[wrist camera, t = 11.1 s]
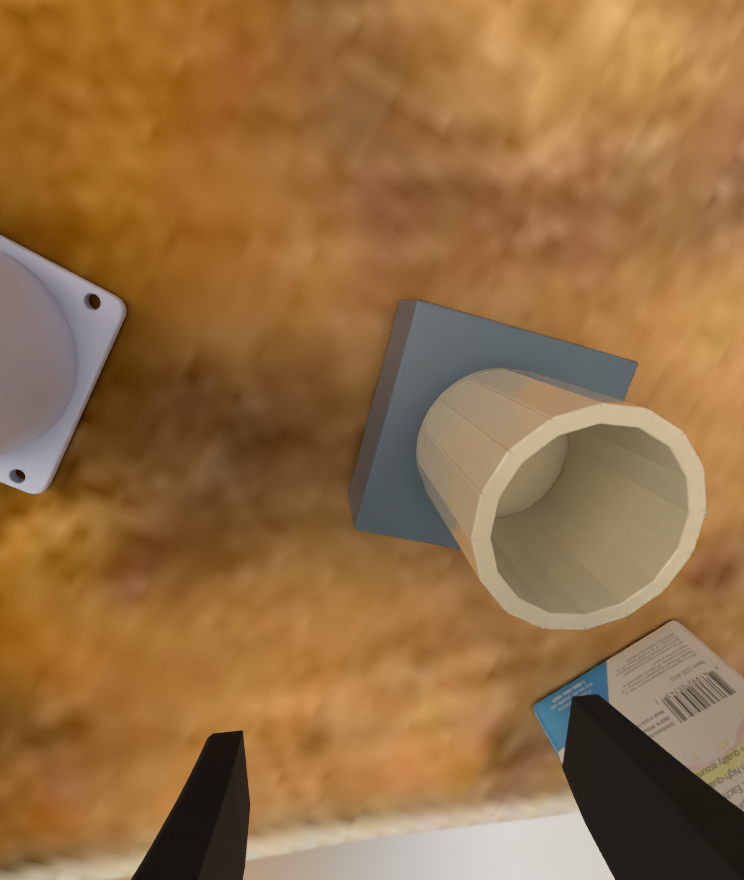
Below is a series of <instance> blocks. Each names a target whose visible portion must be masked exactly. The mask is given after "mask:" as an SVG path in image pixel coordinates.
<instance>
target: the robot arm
mask: <svg viewBox="0 0 744 880" xmlns="http://www.w3.org/2000/svg"><path fill="white" fill-rule="evenodd" d="M92 294H96V295H97V296H98V297H99V299H100V301H101V304H100V307H99V308H98V309H94V308H93V307H92V306H91V305H90V303H89V298H90V296H91V295H92ZM126 312H127V310H126V306H125V304H124V302H123V301H122V300H121V299H120V298H119V297H118V296H116V295H114V294H112V293H110V292H108V291H106V290H105V289H103V288H101V287H99V286H97V285H95V284H93V283H91V282H89V281H88V280H86V279H84V278H82V277H80V276H78V275H76V274H74V273H72V272H71V271H69V270H67V269H65V268H63V267H61V266H59V265H57V264H55V263H53V262H52V261H50V260H48V259H46V258H44V257H42V256H40V255H38V254H36V253H35V252H33V251H31V250H29V249H27V248H25V247H23V246H21V245H19V244H18V243H16V242H14V241H12V240H10V239H8V238H6V237H4V236H2V235H1V234H0V482H2V483H4V484H7V485H9V486H12V487H14V488H17V489H19V490H21V491H24V492H26V493H30V494H39V493H41V492H43V491H44V490H46V489H47V488H48V487H49V486H50V485H51V482H52V480H53V478H54V476H55V473H56V471H57V469H58V467H59V464H60V462H61V460H62V458H63V456H64V453H65V451H66V449H67V447H68V444H69V442H70V440H71V438H72V435H73V433H74V431H75V429H76V426H77V424H78V422H79V420H80V417H81V415H82V413H83V411H84V408H85V406H86V404H87V402H88V400H89V397H90V395H91V393H92V391H93V388H94V386H95V384H96V382H97V379H98V377H99V375H100V373H101V370H102V368H103V366H104V364H105V361H106V359H107V357H108V355H109V352H110V350H111V348H112V346H113V344H114V341H115V339H116V337H117V335H118V332H119V330H120V328H121V326H122V323H123V321H124V319H125V317H126ZM16 469H18V470H21V471H22V472H24V474H25V479H21V478H20V477H18V476H17V474H16ZM562 768H563V771H564V773H565V776H566V778H567V781H568V783H569V786H570V788H571V791H572V793H573V796H574V798H575V800H576V803H577V805H578V807H579V810H580V812H581V814H582V817H583V819H584V821H585V823H586V825H587V827H588V829H589V831H590V833H591V835H592V837H593V839H594V841H595V842H596V844H597V846H598V848H599V850H600V852H601V854H602V856H603V857H604V859H605V861H606V863H607V865H608V867H609V869H610V871H611V873H612V874H613V876H614V878H615V880H744V811H742V810H741V809H740V808H738V807H737V806H736V805H734V804H733V803H732V802H730V801H729V800H728V799H726V798H725V797H724V796H723V795H721V794H720V793H719V792H717V791H716V790H715V789H714V788H712V787H711V786H710V785H708V784H707V783H706V782H705V781H703V780H702V779H701V778H700V777H698V776H697V775H696V774H694V773H693V772H692V771H691V770H689V769H688V768H687V767H686V766H685V765H683V764H682V763H681V762H680V761H678V760H677V759H676V758H675V757H673V756H672V755H671V754H670V753H669V752H667V751H666V750H665V749H664V748H662V747H661V746H660V745H659V744H658V743H656V742H655V741H654V740H653V739H652V738H650V737H649V736H648V735H647V734H646V733H644V732H643V731H642V730H641V729H640V728H638V727H637V726H636V725H635V724H634V723H632V722H631V721H630V720H629V719H628V718H626V717H625V716H624V715H623V714H622V713H620V712H619V711H618V710H617V709H616V708H614V707H613V706H612V705H611V704H610V703H608V702H607V701H606V700H605V699H603V698H602V697H601V696H600V695H598V694H593V695H583V696H573V697H572V701H571V708H570V715H569V722H568V729H567V737H566V744H565V751H564V758H563V765H562ZM249 812H250V799H249V789H248V779H247V769H246V759H245V748H244V738H243V731H233V732H224V733H214V734H212V735H211V736H210V737H209V738H208V739H207V741H206V743H205V745H204V747H203V749H202V752H201V754H200V756H199V758H198V760H197V762H196V764H195V766H194V768H193V770H192V772H191V774H190V776H189V778H188V780H187V782H186V784H185V786H184V788H183V790H182V792H181V794H180V795H179V797H178V799H177V801H176V803H175V805H174V807H173V809H172V810H171V812H170V814H169V816H168V817H167V819H166V821H165V823H164V824H163V826H162V828H161V830H160V831H159V833H158V835H157V837H156V839H155V840H154V842H153V844H152V846H151V847H150V849H149V851H148V852H147V854H146V856H145V858H144V859H143V861H142V863H141V864H140V866H139V867H138V869H137V871H136V872H135V874H134V875H133V877H132V879H131V880H243V874H244V869H245V859H246V848H247V837H248V825H249Z"/></svg>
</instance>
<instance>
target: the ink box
mask: <svg viewBox="0 0 744 880" xmlns="http://www.w3.org/2000/svg"><path fill="white" fill-rule="evenodd" d="M593 694H598V695H600V696H601V697H602V698H603V699H605V700H606V701H607V702H608V703H610V704H611V705H612V706H613V707H614V708H616V709H617V710H618V711H619V712H620V713H622V714H623V715H624V716H625V717H626V718H628V719H629V720H630V721H631V722H632V723H634V724H635V725H636V726H637V727H638V728H640V729H641V730H642V731H643V732H644V733H646V734H647V735H648V736H649V737H650V738H652V739H653V740H654V741H655V742H656V743H658V744H659V745H660V746H661V747H662V748H664V749H665V750H666V751H667V752H669V753H670V754H671V755H672V756H673V757H675V758H676V759H677V760H678V761H680V762H681V763H682V764H683V765H685V766H686V767H687V768H688V769H689V770H691V771H692V772H693V773H694V774H696V775H697V776H698V777H700V778H701V779H702V780H703V781H705V782H706V783H707V784H708V785H710V786H711V787H712V788H714V789H715V790H716V791H717V792H719V793H720V794H721V795H723V796H724V797H725V798H726V799H728V800H729V801H730V802H732V803H733V804H734V805H736V806H737V807H738V808H740V809H741V810H742V811H744V677H742V676H741V675H740V674H739V673H738V672H736V671H735V670H734V669H733V668H732V667H731V666H730V665H729V664H727V663H726V662H725V661H724V660H723V659H722V658H721V657H719V656H718V655H717V654H716V653H715V652H714V651H713V650H712V649H710V648H709V647H708V646H707V645H706V644H705V643H703V642H702V641H701V640H700V639H699V638H698V637H697V636H695V635H694V634H693V633H692V632H691V631H689V630H688V629H687V628H686V627H685V626H683V625H682V624H681V623H680V622H678V621H670V622H668V623H667V624H665V625H664V626H662V627H660V628H659V629H657V630H655V631H654V632H652V633H650V634H649V635H647V636H646V637H644V638H642V639H641V640H639V641H637V642H636V643H634V644H632V645H631V646H629V647H628V648H626V649H624V650H623V651H621V652H619V653H618V654H616V655H614V656H613V657H611V658H610V659H608V660H606V661H605V662H603V663H602V664H600V665H598V666H597V667H595V668H593V669H592V670H590V671H588V672H587V673H585V674H583V675H582V676H580V677H579V678H577V679H575V680H574V681H572V682H570V683H569V684H567V685H565V686H564V687H562V688H561V689H559V690H557V691H556V692H554V693H553V694H551V695H549V696H547V697H546V698H544V699H542V700H541V701H539V702H538V703H536V704H535V705H534V714H535V715H536V717H537V719H538V721H539V723H540V725H541V726H542V728H543V730H544V732H545V734H546V735H547V737H548V739H549V741H550V743H551V744H552V746H553V748H554V750H555V751H556V753H557V755H558V757H559V758H560V760H561V762H562V764H563V758H564V751H565V744H566V737H567V729H568V722H569V715H570V708H571V701H572V697H573V696H583V695H593Z"/></svg>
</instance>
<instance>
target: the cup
mask: <svg viewBox="0 0 744 880" xmlns="http://www.w3.org/2000/svg"><path fill="white" fill-rule="evenodd" d="M416 458H417V466H418V471H419V474H420V477H421V480H422V482H423V484H424V486H425V490H426V492H427V494H428V496H429V497H430V499H431V501H432V502H433V504H434V506H435V507H436V509H437V511H438V512H439V514H440V515H441V517H442V519H443V520H444V522H445V524H446V525H447V527H448V529H449V530H450V532H451V534H452V535H453V537H454V539H455V540H456V542H457V543H458V545H459V547H460V548H461V550H462V552H463V553H464V555H465V557H466V558H467V560H468V562H469V563H470V565H471V566H472V568H473V570H474V571H475V573H476V575H477V576H478V578H479V580H480V581H481V583H482V584H483V585H484V586H485V588H486V589H487V590H488V591H489V593H490V594H491V595H492V596H493V597H494V599H495V600H496V601H497V602H498V603H499V605H500V606H501V607H502V608H503V610H505V611H506V612H507V613H509V614H511V615H514V616H516V617H518V618H520V619H522V620H525V621H527V622H529V623H531V624H533V625H535V626H538V627H540V628H544V629H562V630H584V629H585V630H587V629H590V628H593V627H596V626H600V625H603V624H606V623H609V622H612V621H615V620H619V619H622V618H625V617H626V615H627V616H629V615H630V614H632V613H633V612H635V611H636V610H638V609H639V608H640V607H642V606H643V605H645V604H646V603H647V602H649V601H650V600H652V599H653V598H655V597H656V596H657V595H659V594H660V593H662V592H663V591H664V589H666V588H667V587H668V585H669V584H670V583H671V581H672V580H673V579H674V577H675V576H676V575H677V574H678V572H679V571H680V570H681V568H682V567H683V566H684V564H685V563H686V562H687V560H688V559H689V558H690V557H691V555H692V554H691V553H693V551H694V548H695V545H696V542H697V540H698V537H699V534H700V531H701V528H702V525H703V522H704V519H705V516H706V510H707V502H706V484H705V470H704V469H703V468H704V467H703V465H702V463H701V461H700V459H699V458H698V456H697V454H696V452H695V450H694V449H693V447H692V445H691V443H690V441H689V440H688V438H687V436H686V434H685V433H684V432H683V431H682V430H681V429H679V428H678V427H676V426H675V425H673V424H672V423H670V422H669V421H667V420H666V419H664V418H662V417H661V416H659V415H658V414H656V413H655V412H653V411H652V410H650V409H648V408H645V407H642V406H639V405H636V404H632V403H629V402H626V401H623V400H620V399H616V398H613V397H610V396H607V395H604V394H601V393H597V392H594V391H591V390H588V389H585V388H582V387H578V386H575V385H572V384H569V383H566V382H563V381H559V380H556V379H553V378H550V377H547V376H544V375H540V374H537V373H534V372H527V371H523V370H519V369H513V368H491V369H486V370H481V371H478V372H475V373H473V374H470V375H468V376H466V377H464V378H462V379H460V380H458V381H457V382H455V383H454V384H453V385H451V386H450V387H449V388H447V389H446V390H445V391H444V392H443V393H442V394H441V395H440V396H439V397H438V398H437V400H436V401H435V402H434V403H433V405H432V406H431V408H430V409H429V410H428V412H427V414H426V416H425V418H424V420H423V422H422V425H421V428H420V431H419V435H418V439H417V448H416Z"/></svg>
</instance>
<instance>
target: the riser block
mask: <svg viewBox="0 0 744 880" xmlns="http://www.w3.org/2000/svg"><path fill="white" fill-rule="evenodd" d="M637 365H638V363H637V362H636V361H633V360H629V359H626V358H622V357H619V356H615V355H612V354H608V353H605V352H601V351H598V350H594V349H591V348H587V347H584V346H580V345H577V344H573V343H570V342H566V341H563V340H559V339H556V338H552V337H549V336H545V335H542V334H538V333H535V332H531V331H528V330H524V329H521V328H517V327H514V326H510V325H507V324H503V323H500V322H496V321H493V320H489V319H486V318H482V317H479V316H475V315H472V314H468V313H465V312H461V311H458V310H454V309H451V308H447V307H444V306H440V305H437V304H433V303H430V302H426V301H423V300H400V302H399V305H398V309H397V312H396V316H395V320H394V324H393V327H392V331H391V335H390V339H389V342H388V346H387V350H386V354H385V357H384V361H383V365H382V369H381V372H380V376H379V380H378V383H377V387H376V391H375V395H374V398H373V402H372V406H371V410H370V413H369V417H368V421H367V425H366V428H365V432H364V436H363V440H362V443H361V447H360V451H359V454H358V458H357V462H356V466H355V469H354V473H353V477H352V481H351V484H350V488H349V492H348V497H349V502H350V507H351V513H352V518H353V523H354V528H355V529H356V530H360V531H365V532H370V533H376V534H381V535H387V536H392V537H397V538H403V539H408V540H413V541H419V542H424V543H429V544H435V545H440V546H446V547H451V548H456V549H461V548H460V547H459V545H458V543H457V542H456V540H455V539H454V537H453V535H452V534H451V532H450V530H449V529H448V527H447V525H446V524H445V522H444V520H443V519H442V517H441V515H440V514H439V512H438V511H437V509H436V507H435V506H434V504H433V502H432V501H431V499H430V497H429V496H428V494H427V492H426V490H425V486H424V484H423V482H422V480H421V477H420V474H419V471H418V466H417V458H416V448H417V439H418V435H419V431H420V428H421V425H422V422H423V420H424V418H425V416H426V414H427V412H428V410H429V409H430V408H431V406H432V405H433V403H434V402H435V401H436V400H437V398H438V397H439V396H440V395H441V394H442V393H443V392H444V391H445V390H446V389H447V388H449V387H450V386H451V385H453V384H454V383H455V382H457V381H458V380H460V379H462V378H464V377H466V376H468V375H470V374H473V373H475V372H478V371H481V370H486V369H491V368H513V369H519V370H523V371H527V372H534V373H537V374H540V375H544V376H547V377H550V378H553V379H556V380H559V381H563V382H566V383H569V384H572V385H575V386H578V387H582V388H585V389H588V390H591V391H594V392H597V393H601V394H604V395H607V396H610V397H613V398H616V399H620V400H623V401H624V398H625V396H626V393H627V391H628V388H629V386H630V383H631V381H632V378H633V375H634V373H635V370H636V368H637Z"/></svg>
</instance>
